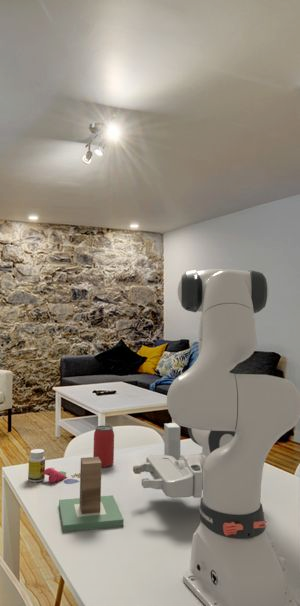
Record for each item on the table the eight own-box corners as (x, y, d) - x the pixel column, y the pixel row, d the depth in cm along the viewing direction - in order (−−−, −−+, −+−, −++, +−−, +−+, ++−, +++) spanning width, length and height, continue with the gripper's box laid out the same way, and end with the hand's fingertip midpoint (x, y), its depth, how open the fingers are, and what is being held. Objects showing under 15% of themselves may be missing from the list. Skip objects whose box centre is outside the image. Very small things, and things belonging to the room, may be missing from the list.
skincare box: (180, 463, 151) (181, 427, 151) (167, 464, 150) (168, 427, 150) (175, 457, 157) (176, 422, 157) (163, 458, 156) (164, 422, 156)
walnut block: (100, 512, 111) (101, 462, 111) (81, 514, 110) (82, 463, 110) (97, 504, 116) (98, 456, 116) (79, 506, 114) (80, 457, 114)
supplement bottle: (42, 482, 133) (43, 453, 133) (26, 482, 133) (26, 453, 133) (46, 476, 137) (47, 448, 137) (30, 476, 137) (31, 448, 138)
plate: (123, 525, 108) (123, 519, 108) (63, 532, 104) (63, 525, 104) (112, 501, 121) (112, 495, 121) (58, 505, 118) (59, 499, 118)
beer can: (91, 462, 151) (92, 425, 151) (111, 460, 153) (111, 424, 153) (95, 468, 145) (96, 430, 145) (115, 467, 147) (116, 429, 147)
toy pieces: (67, 489, 129) (68, 474, 129) (37, 482, 134) (37, 466, 134) (92, 476, 139) (92, 461, 139) (63, 469, 145) (63, 455, 145)
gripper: (177, 448, 130) (129, 451, 126) (204, 474, 110) (148, 478, 106) (176, 470, 130) (128, 474, 126) (203, 500, 110) (147, 505, 106)
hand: (137, 476), depth 116 cm, fingers open, 8 cm apart
